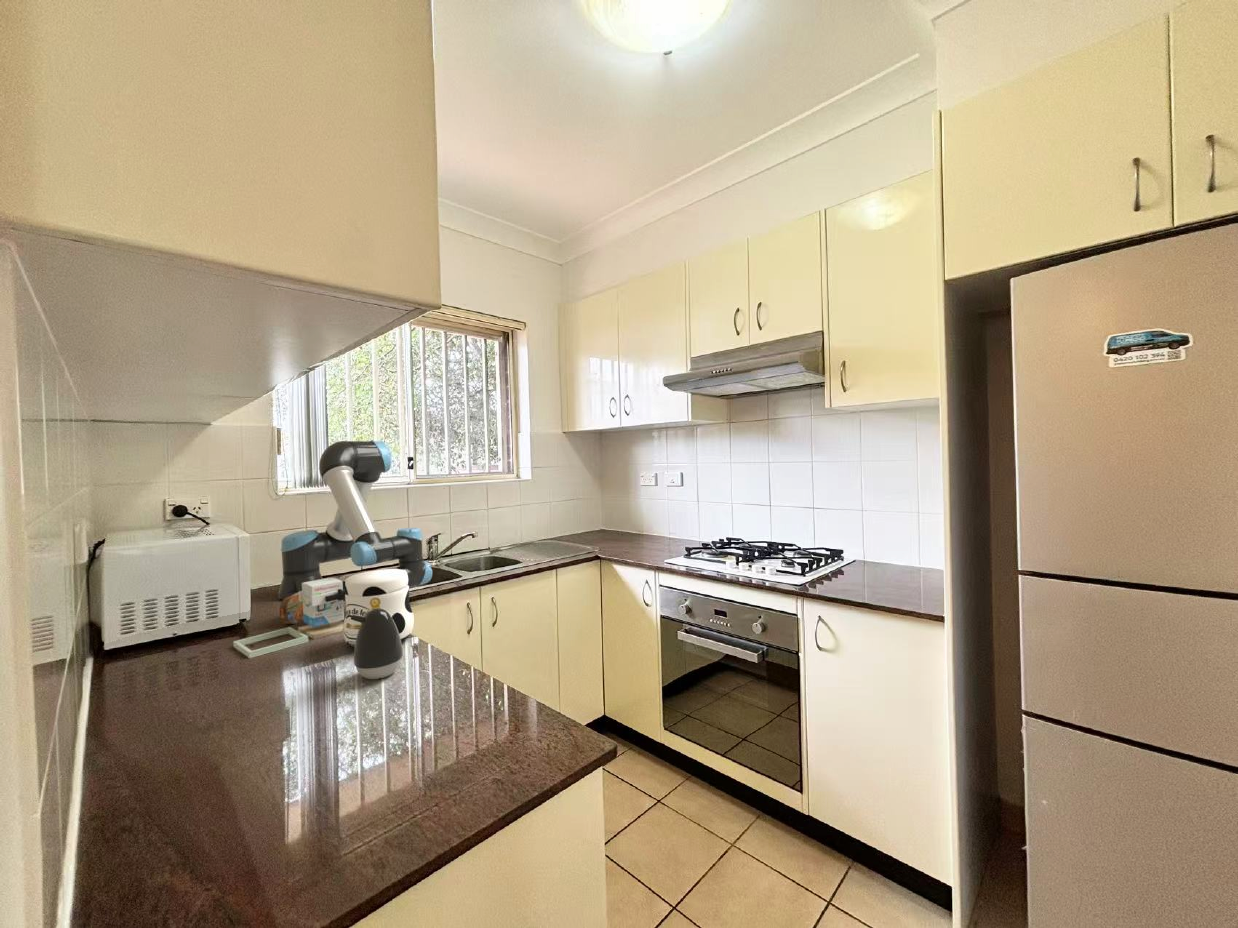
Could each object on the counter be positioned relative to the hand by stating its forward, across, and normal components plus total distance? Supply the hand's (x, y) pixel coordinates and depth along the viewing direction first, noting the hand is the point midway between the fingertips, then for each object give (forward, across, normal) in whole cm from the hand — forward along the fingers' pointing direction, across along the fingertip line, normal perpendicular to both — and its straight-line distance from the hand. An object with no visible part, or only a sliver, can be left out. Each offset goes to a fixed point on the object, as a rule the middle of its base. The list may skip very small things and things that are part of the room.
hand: (305, 599), depth 146 cm
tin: (-4, +18, -10) cm, 21 cm away
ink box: (-5, 0, -8) cm, 9 cm away
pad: (-5, 0, -10) cm, 11 cm away
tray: (+9, 0, -10) cm, 14 cm away
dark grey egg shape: (+1, -45, -11) cm, 46 cm away
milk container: (-10, -24, -11) cm, 28 cm away
